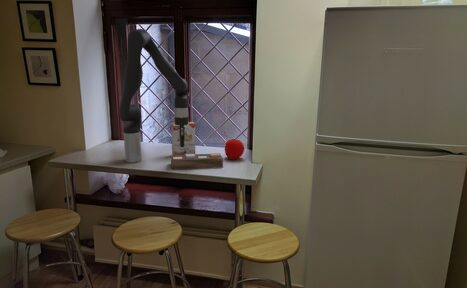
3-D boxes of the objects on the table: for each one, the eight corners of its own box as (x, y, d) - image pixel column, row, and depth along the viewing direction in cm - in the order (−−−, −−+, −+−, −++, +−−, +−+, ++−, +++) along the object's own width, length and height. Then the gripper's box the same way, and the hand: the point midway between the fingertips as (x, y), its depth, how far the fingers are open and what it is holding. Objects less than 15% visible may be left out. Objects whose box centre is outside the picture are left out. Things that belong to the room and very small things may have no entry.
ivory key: (173, 162, 189) (173, 157, 189) (182, 161, 190) (182, 156, 190) (173, 164, 185) (173, 159, 184) (182, 164, 185) (182, 159, 185)
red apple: (220, 159, 203) (220, 139, 200) (230, 155, 212) (230, 135, 209) (238, 162, 196) (238, 141, 194) (247, 158, 206) (247, 138, 203)
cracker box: (173, 157, 205) (172, 124, 200) (171, 155, 210) (170, 122, 205) (195, 155, 210) (195, 122, 205) (193, 153, 215) (192, 121, 211)
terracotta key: (209, 158, 193) (209, 153, 192) (218, 157, 194) (218, 152, 193) (211, 160, 188) (211, 155, 188) (219, 160, 189) (219, 155, 188)
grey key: (185, 159, 190) (185, 154, 190) (194, 158, 191) (194, 153, 191) (186, 161, 186) (186, 156, 185) (195, 161, 186) (195, 155, 186)
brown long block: (170, 163, 192) (170, 154, 191) (219, 161, 198) (219, 153, 197) (171, 169, 182) (171, 160, 181) (222, 166, 187) (222, 158, 186)
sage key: (197, 161, 192) (197, 156, 191) (206, 160, 193) (206, 155, 192) (198, 163, 187) (198, 158, 187) (207, 163, 188) (207, 158, 187)
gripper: (174, 114, 187) (175, 144, 191) (174, 117, 174) (175, 149, 178) (187, 114, 188) (188, 143, 192) (188, 117, 176) (189, 149, 179)
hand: (182, 146), depth 185 cm, fingers closed
